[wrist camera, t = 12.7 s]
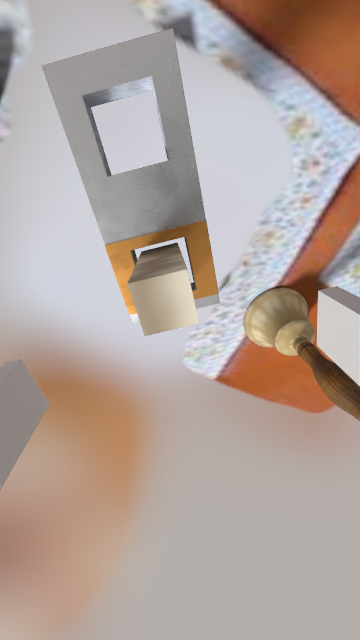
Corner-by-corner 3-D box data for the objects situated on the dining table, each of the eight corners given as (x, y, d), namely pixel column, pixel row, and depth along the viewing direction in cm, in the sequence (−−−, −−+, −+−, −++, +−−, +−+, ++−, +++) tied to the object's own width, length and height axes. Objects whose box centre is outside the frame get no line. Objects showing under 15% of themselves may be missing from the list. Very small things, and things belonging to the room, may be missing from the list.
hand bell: (316, 325, 32) (440, 424, 18) (259, 356, 34) (331, 469, 19) (293, 274, 29) (423, 343, 14) (231, 310, 30) (293, 406, 16)
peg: (177, 242, 26) (187, 269, 16) (185, 277, 28) (199, 323, 17) (141, 251, 27) (127, 283, 16) (151, 285, 28) (144, 335, 18)
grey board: (171, 47, 20) (172, 26, 17) (215, 295, 29) (220, 303, 27) (55, 81, 20) (40, 64, 18) (135, 314, 30) (132, 324, 27)
